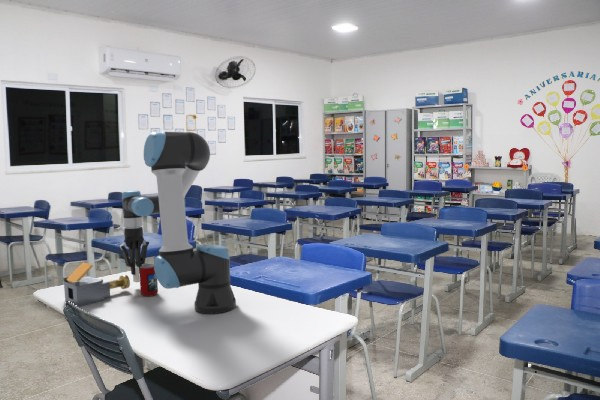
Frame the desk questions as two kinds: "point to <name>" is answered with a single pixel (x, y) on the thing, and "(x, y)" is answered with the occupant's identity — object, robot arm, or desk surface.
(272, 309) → the desk surface
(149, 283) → the beverage can
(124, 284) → the pin
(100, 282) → the hitch block
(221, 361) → the desk surface
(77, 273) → the plate
